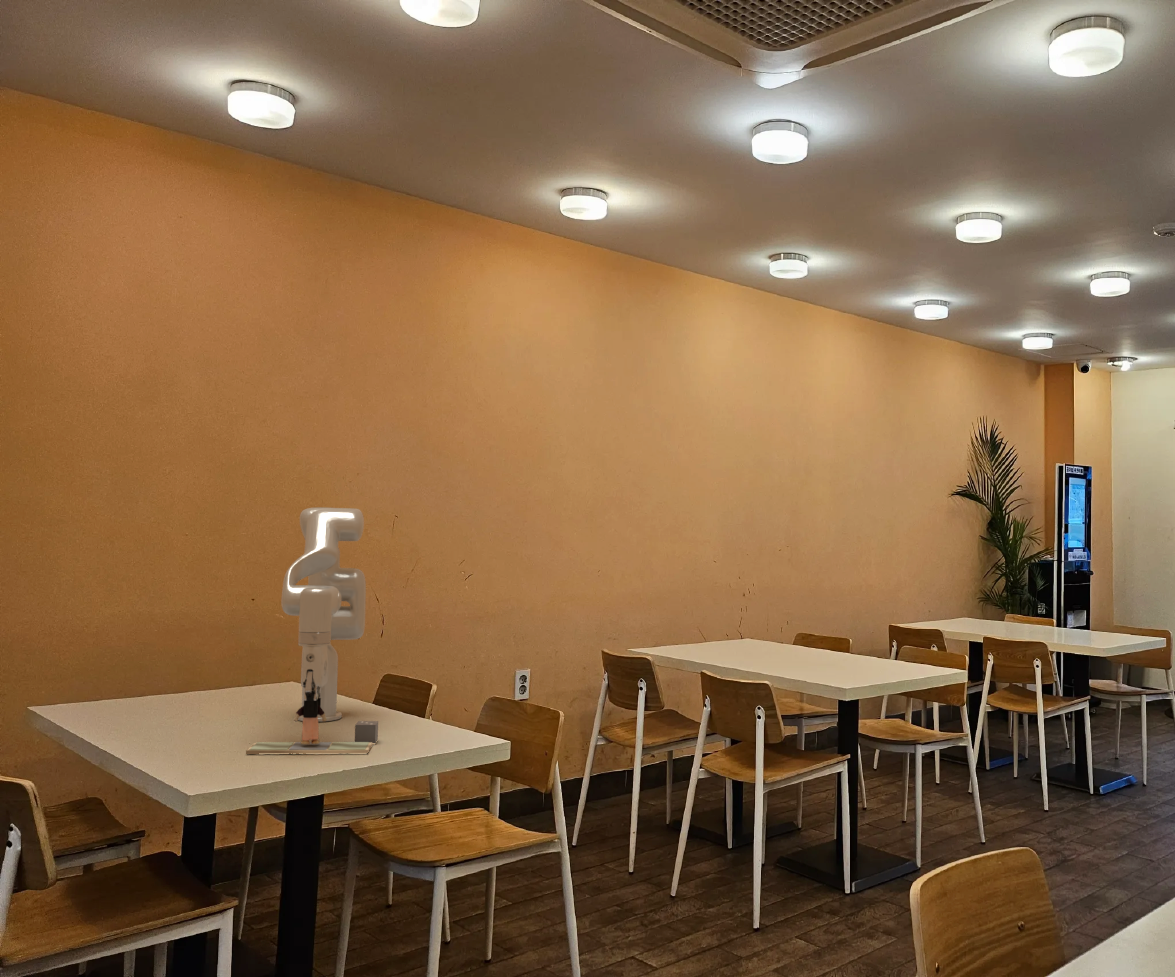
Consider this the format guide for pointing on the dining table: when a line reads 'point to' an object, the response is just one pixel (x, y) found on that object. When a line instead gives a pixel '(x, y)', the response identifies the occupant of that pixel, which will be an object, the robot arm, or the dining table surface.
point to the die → (366, 731)
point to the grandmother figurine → (310, 726)
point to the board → (309, 747)
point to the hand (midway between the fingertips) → (311, 715)
